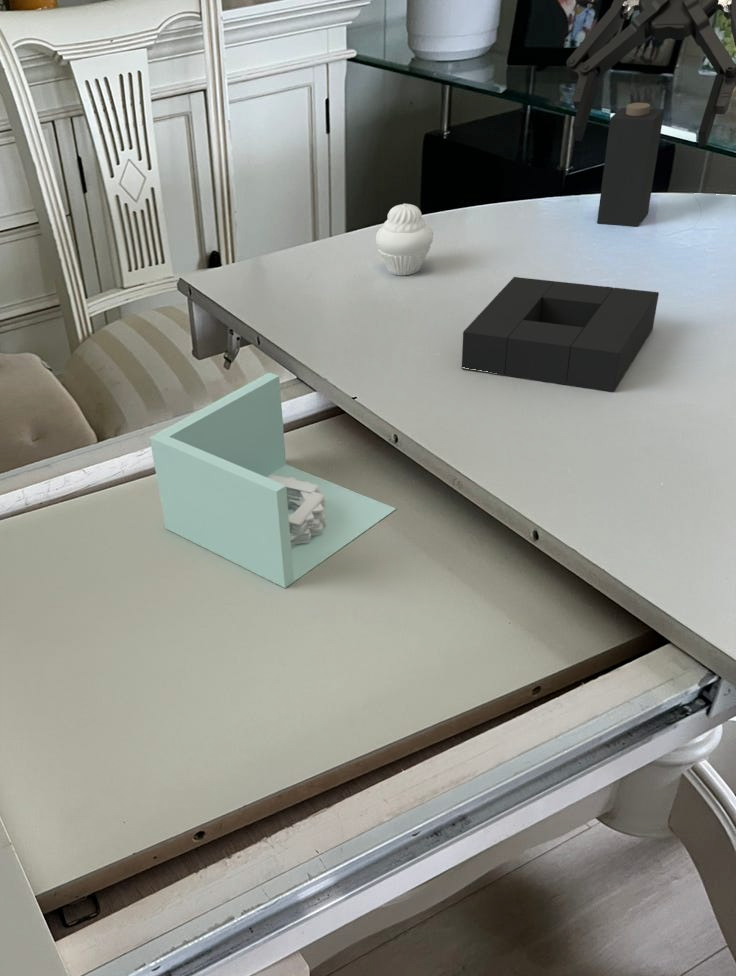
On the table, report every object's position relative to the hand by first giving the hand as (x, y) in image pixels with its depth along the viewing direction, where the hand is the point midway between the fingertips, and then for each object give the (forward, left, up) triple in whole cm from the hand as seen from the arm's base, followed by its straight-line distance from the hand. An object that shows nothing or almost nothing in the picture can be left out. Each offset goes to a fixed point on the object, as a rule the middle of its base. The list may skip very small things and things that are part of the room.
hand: (637, 137), depth 111 cm
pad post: (-2, +2, -8) cm, 8 cm away
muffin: (-5, +30, -8) cm, 31 cm away
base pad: (-30, +25, -8) cm, 39 cm away
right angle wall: (-47, +56, -8) cm, 73 cm away
